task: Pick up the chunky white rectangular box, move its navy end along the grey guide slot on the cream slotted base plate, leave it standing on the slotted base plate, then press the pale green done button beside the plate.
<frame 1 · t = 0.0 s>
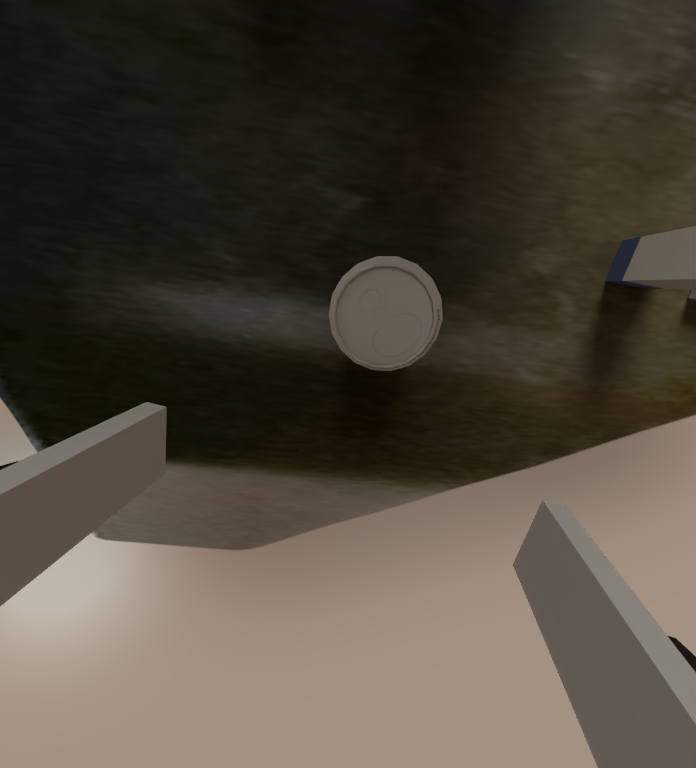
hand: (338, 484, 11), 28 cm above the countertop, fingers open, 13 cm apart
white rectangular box: (634, 264, 32), on the countertop
supplement can: (388, 305, 37), on the countertop
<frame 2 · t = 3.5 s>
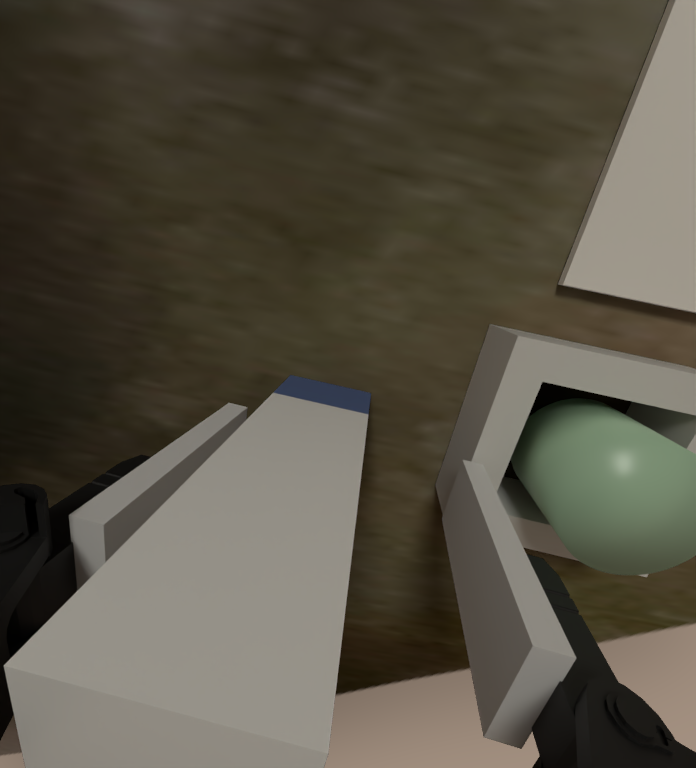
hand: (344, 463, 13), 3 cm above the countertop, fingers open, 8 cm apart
button housing: (548, 431, 15), on the countertop
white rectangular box: (323, 420, 16), on the countertop
done button: (598, 477, 11), point 4 cm above the countertop, slide at 0.0 cm
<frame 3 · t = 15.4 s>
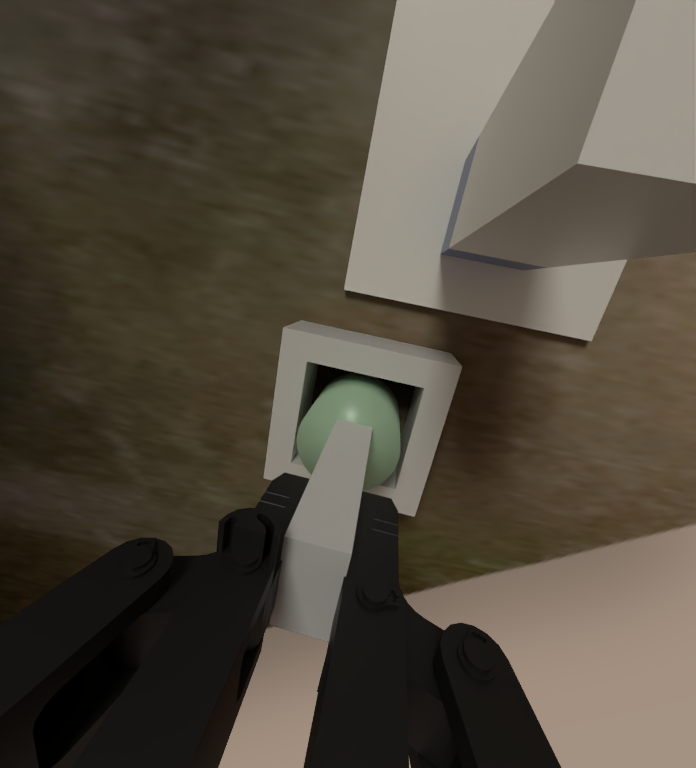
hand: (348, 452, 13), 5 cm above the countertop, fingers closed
button housing: (359, 405, 18), on the countertop
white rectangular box: (495, 217, 14), resting on slotted base plate
slotted base plate: (520, 123, 14), on the countertop
done button: (353, 427, 15), point 3 cm above the countertop, slide at -0.6 cm, touching gripper
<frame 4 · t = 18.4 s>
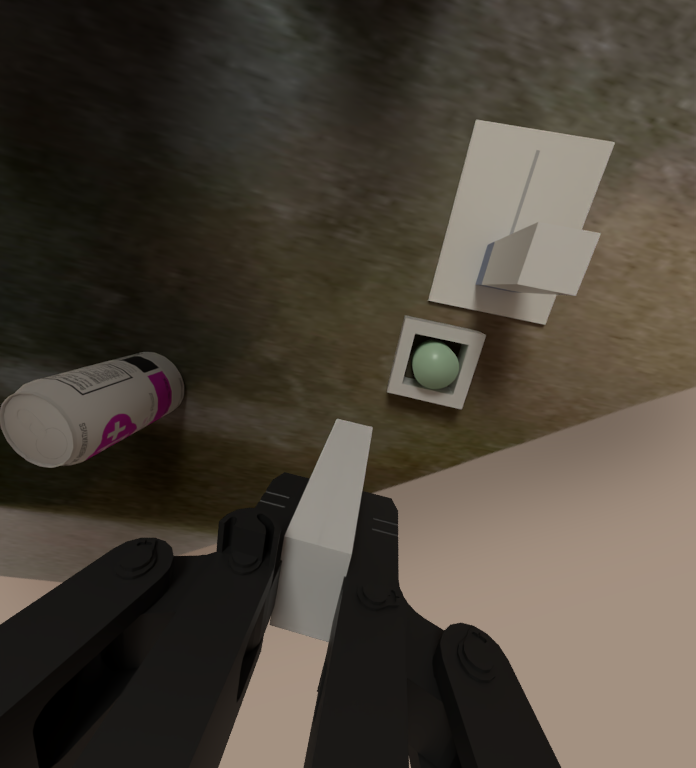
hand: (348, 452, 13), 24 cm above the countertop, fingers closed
button housing: (431, 358, 36), on the countertop
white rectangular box: (500, 268, 32), resting on slotted base plate
slotted base plate: (511, 229, 32), on the countertop
supplement can: (159, 381, 42), on the countertop
done button: (433, 363, 34), point 2 cm above the countertop, slide at -1.2 cm
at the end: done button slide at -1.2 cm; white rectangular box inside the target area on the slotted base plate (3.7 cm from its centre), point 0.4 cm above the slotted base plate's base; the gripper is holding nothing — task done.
